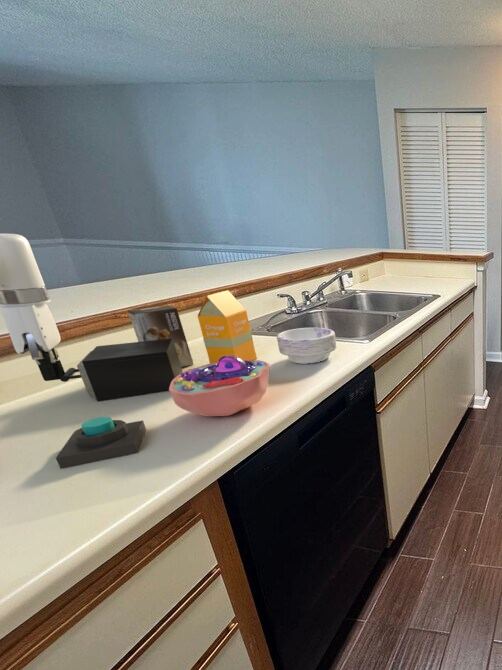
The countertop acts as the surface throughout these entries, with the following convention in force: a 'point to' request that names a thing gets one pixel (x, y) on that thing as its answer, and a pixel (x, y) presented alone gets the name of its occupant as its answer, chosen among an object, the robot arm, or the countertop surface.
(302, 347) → the paper bowls
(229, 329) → the orange juice
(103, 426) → the button
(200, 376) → the cell model
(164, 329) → the coffee box
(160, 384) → the cabinet
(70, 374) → the drawer
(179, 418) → the countertop surface
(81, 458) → the control block
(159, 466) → the countertop surface
